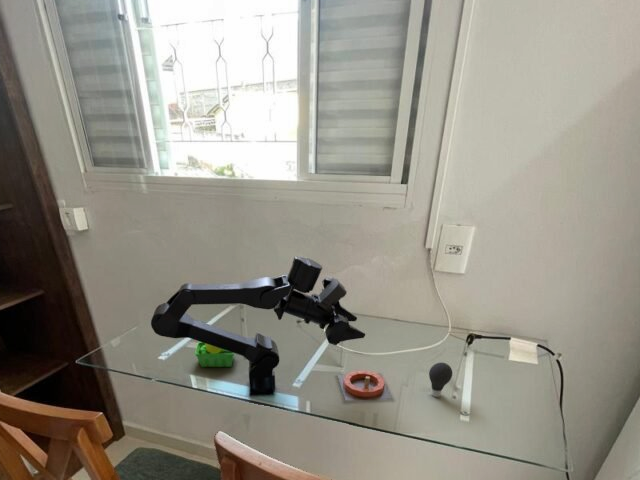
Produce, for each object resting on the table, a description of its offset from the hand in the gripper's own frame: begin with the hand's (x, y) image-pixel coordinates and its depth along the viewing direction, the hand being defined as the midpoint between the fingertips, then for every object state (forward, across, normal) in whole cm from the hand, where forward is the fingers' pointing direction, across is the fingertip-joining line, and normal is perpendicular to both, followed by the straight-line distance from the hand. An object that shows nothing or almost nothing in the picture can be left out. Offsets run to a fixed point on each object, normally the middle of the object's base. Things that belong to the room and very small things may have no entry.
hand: (360, 327), depth 105 cm
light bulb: (+25, -9, +8) cm, 28 cm away
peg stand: (+8, -3, +15) cm, 17 cm away
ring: (+8, -3, +14) cm, 17 cm away
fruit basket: (-29, +14, +31) cm, 45 cm away
